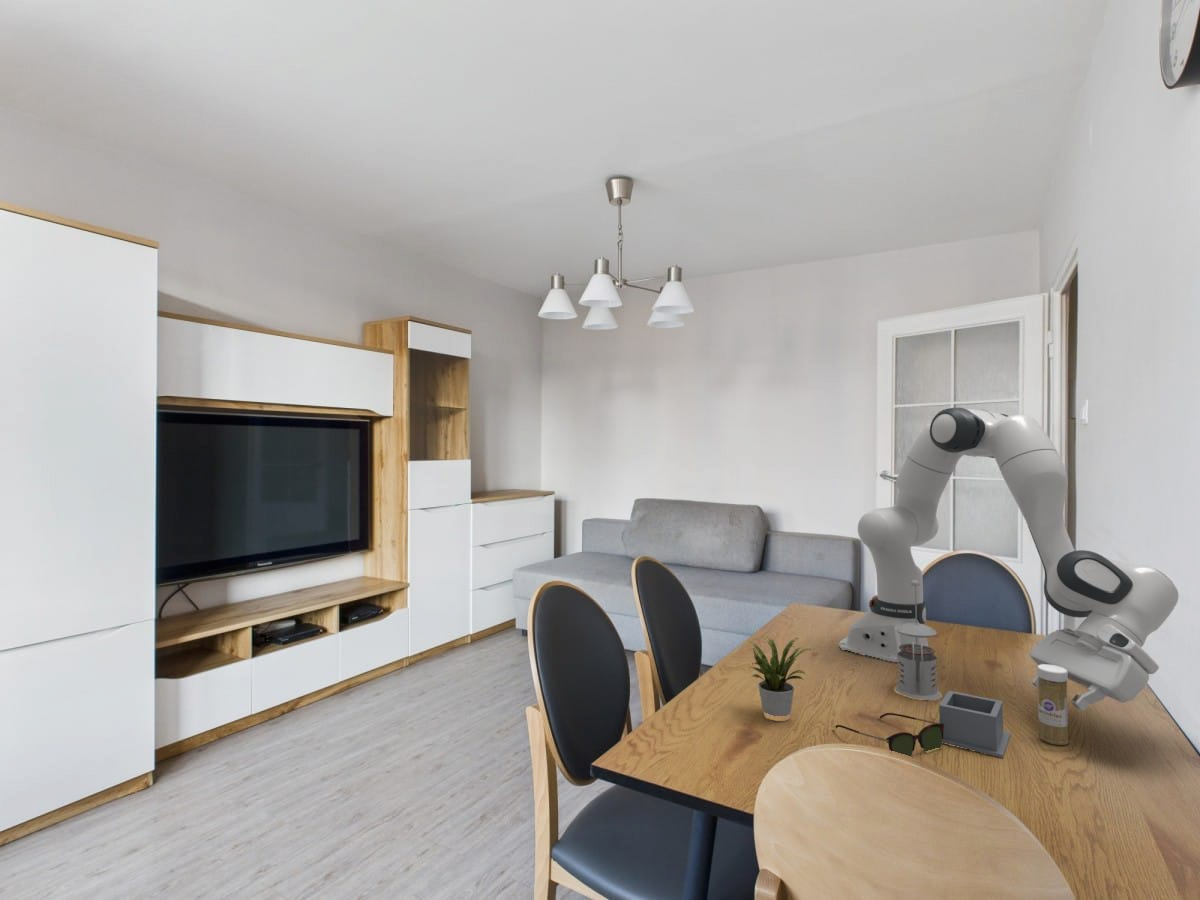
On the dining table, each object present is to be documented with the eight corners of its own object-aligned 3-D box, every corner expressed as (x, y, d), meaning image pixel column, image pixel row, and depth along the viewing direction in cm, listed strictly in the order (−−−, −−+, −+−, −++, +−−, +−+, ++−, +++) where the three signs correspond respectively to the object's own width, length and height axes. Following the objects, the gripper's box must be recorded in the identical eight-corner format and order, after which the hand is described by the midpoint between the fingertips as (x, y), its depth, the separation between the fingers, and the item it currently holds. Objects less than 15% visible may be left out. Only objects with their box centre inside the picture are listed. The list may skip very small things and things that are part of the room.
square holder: (932, 741, 116) (931, 705, 116) (944, 721, 125) (943, 687, 125) (1002, 758, 109) (1002, 720, 109) (1010, 736, 118) (1009, 700, 118)
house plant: (819, 707, 133) (818, 629, 133) (820, 734, 120) (818, 648, 120) (750, 699, 137) (749, 624, 138) (743, 725, 124) (742, 642, 125)
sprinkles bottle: (1037, 741, 116) (1035, 668, 116) (1040, 732, 119) (1038, 661, 119) (1068, 748, 113) (1066, 673, 113) (1070, 739, 116) (1068, 666, 116)
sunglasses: (889, 767, 108) (886, 736, 108) (826, 739, 121) (824, 712, 122) (947, 750, 114) (944, 721, 114) (881, 725, 127) (879, 700, 128)
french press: (941, 688, 142) (938, 577, 143) (945, 706, 132) (942, 587, 132) (893, 682, 147) (891, 574, 147) (893, 699, 136) (891, 584, 136)
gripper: (1049, 615, 127) (1004, 666, 126) (1143, 646, 106) (1089, 706, 106) (1071, 637, 127) (1026, 687, 126) (1168, 671, 107) (1115, 731, 106)
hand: (1055, 696), depth 116 cm, fingers open, 8 cm apart
